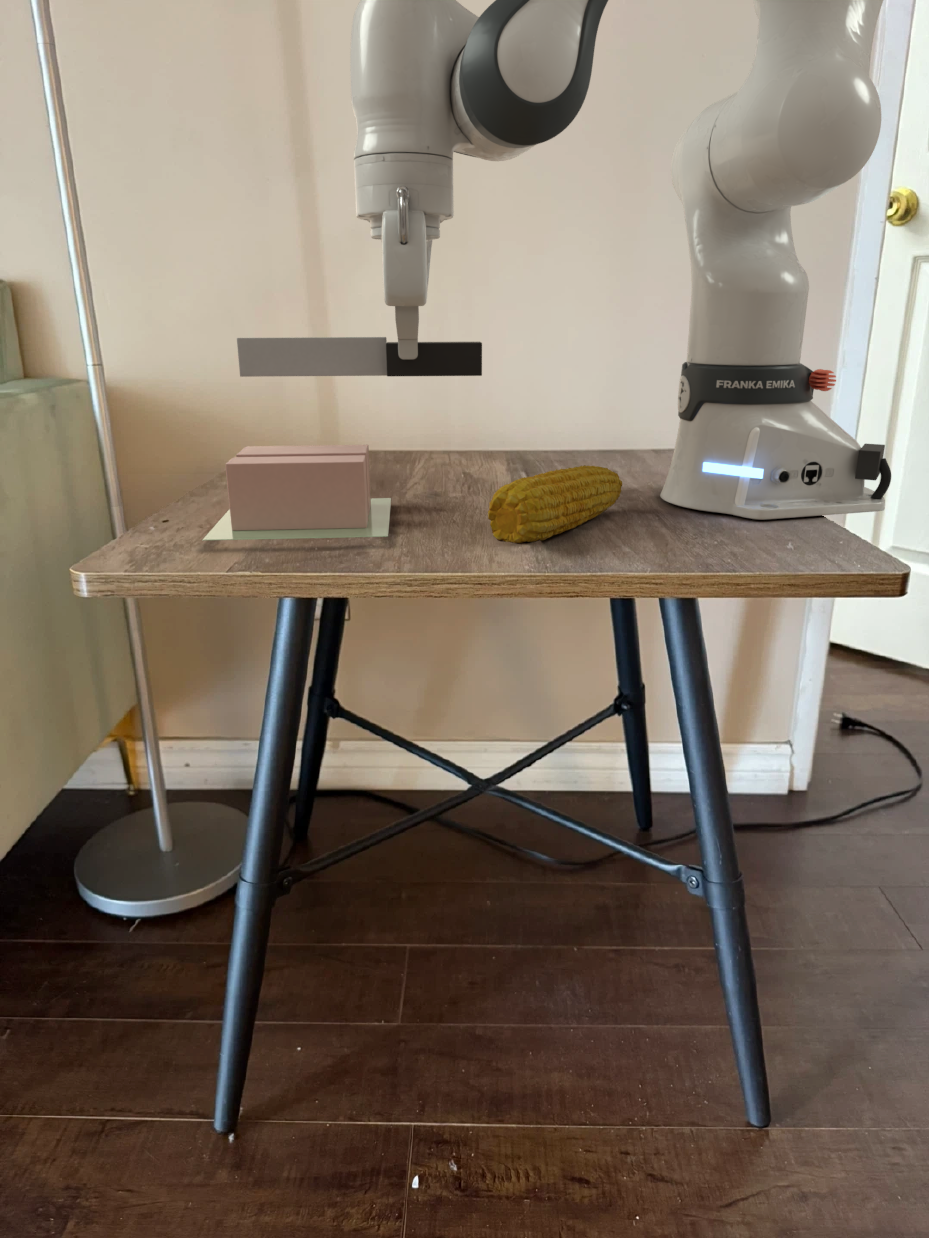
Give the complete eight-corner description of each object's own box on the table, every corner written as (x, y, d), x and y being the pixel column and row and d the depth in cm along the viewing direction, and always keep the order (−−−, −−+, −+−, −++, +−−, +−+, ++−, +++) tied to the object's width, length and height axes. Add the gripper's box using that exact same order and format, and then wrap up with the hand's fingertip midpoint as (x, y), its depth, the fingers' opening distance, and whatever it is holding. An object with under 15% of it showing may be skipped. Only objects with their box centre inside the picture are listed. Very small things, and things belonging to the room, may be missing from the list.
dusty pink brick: (368, 519, 81) (365, 455, 79) (366, 528, 77) (363, 461, 75) (238, 521, 80) (232, 457, 78) (231, 530, 77) (225, 463, 75)
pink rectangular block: (371, 504, 87) (368, 444, 85) (369, 515, 82) (366, 452, 80) (250, 506, 86) (245, 446, 84) (241, 518, 81) (235, 454, 79)
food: (535, 559, 71) (537, 488, 69) (477, 550, 74) (477, 481, 72) (631, 510, 88) (635, 452, 86) (581, 504, 91) (583, 447, 89)
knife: (480, 373, 84) (480, 336, 83) (481, 375, 82) (482, 337, 80) (243, 375, 83) (239, 337, 82) (237, 377, 81) (234, 338, 80)
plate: (391, 507, 90) (391, 497, 90) (388, 547, 75) (388, 536, 75) (237, 510, 89) (236, 500, 89) (202, 551, 74) (201, 540, 74)
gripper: (442, 181, 68) (444, 364, 72) (437, 209, 87) (439, 352, 92) (361, 181, 67) (369, 365, 72) (375, 209, 87) (380, 353, 91)
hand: (408, 358), depth 82 cm, fingers closed on knife, 2 cm apart
